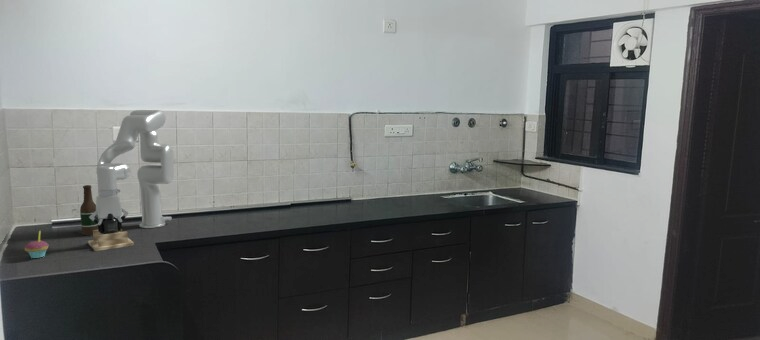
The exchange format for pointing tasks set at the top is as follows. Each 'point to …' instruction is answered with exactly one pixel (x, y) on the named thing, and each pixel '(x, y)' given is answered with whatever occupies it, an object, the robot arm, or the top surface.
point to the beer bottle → (88, 212)
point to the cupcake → (36, 248)
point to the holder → (109, 240)
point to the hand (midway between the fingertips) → (110, 231)
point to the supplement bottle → (110, 225)
